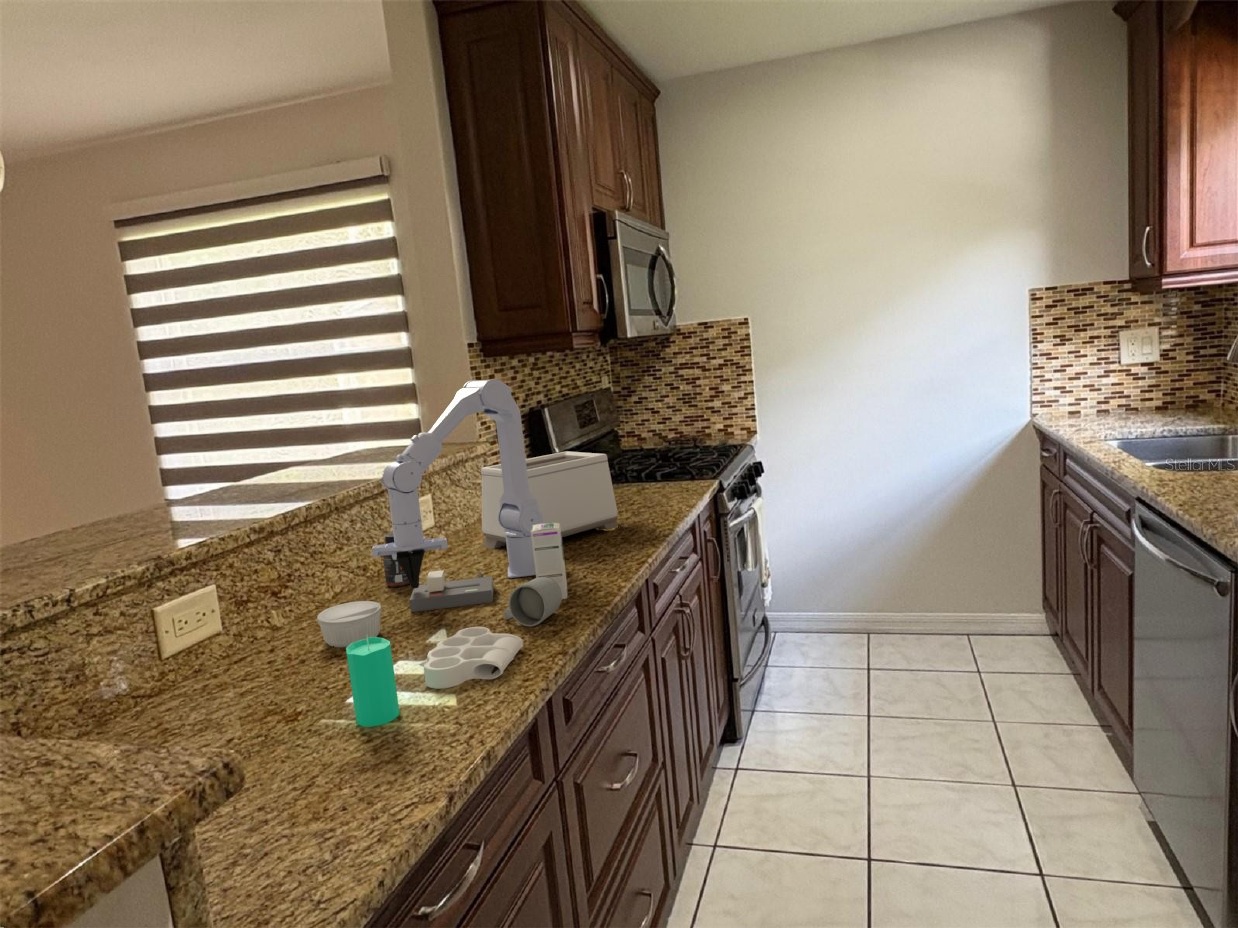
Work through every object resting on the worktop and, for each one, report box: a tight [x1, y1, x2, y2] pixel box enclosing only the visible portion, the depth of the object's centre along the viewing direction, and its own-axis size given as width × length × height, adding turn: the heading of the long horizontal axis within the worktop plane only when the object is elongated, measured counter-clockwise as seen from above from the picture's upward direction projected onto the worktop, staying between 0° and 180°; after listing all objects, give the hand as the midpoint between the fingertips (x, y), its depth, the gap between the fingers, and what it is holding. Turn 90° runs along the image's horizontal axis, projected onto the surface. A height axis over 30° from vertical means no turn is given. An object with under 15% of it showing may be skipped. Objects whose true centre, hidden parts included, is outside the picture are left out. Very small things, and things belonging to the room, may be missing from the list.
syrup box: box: [531, 522, 569, 600], centre depth 157 cm, size 6×6×14 cm
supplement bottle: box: [382, 532, 410, 588], centre depth 176 cm, size 6×6×11 cm
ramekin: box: [316, 600, 383, 648], centre depth 144 cm, size 11×11×5 cm
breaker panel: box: [409, 573, 495, 613], centre depth 166 cm, size 16×19×3 cm
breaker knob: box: [426, 569, 446, 592], centre depth 161 cm, size 3×5×3 cm, turn 8°
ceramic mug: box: [502, 577, 563, 627], centre depth 146 cm, size 11×8×8 cm
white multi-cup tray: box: [418, 626, 524, 690], centre depth 127 cm, size 3×18×15 cm
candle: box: [345, 635, 401, 728], centre depth 110 cm, size 6×6×12 cm
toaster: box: [480, 450, 619, 550], centre depth 208 cm, size 19×34×21 cm, turn 133°
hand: (415, 586), depth 160 cm, fingers closed
